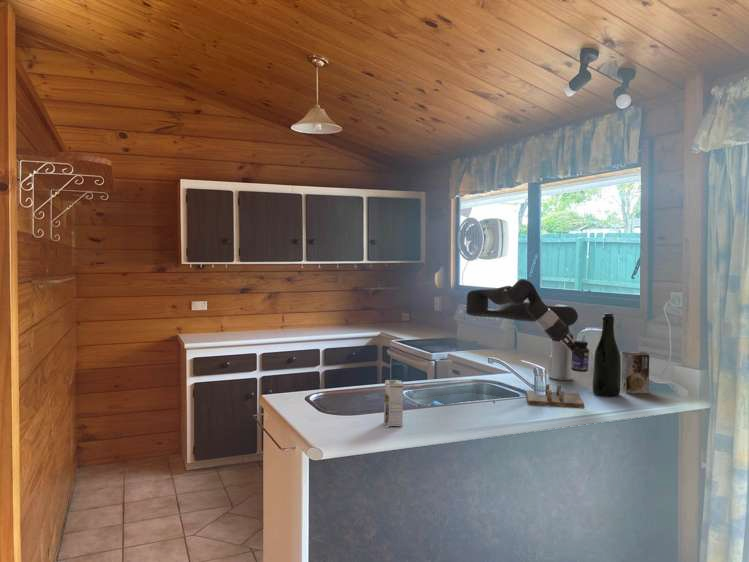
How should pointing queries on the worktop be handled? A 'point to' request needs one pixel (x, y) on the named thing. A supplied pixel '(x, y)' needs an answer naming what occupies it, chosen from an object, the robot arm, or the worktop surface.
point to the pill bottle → (576, 362)
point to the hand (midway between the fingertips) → (581, 356)
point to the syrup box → (393, 403)
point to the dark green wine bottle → (607, 361)
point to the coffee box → (635, 372)
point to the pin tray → (555, 398)
